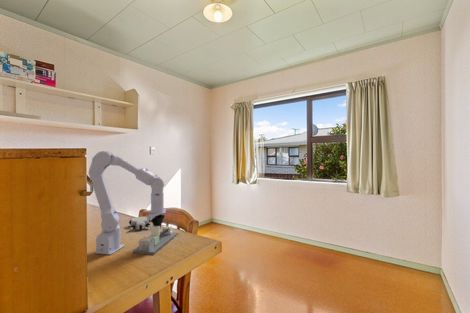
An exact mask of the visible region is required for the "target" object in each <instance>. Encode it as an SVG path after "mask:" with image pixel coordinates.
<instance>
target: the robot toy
mask: <svg viewBox="0 0 470 313" xmlns="http://www.w3.org/2000/svg"><path fill="white" fill-rule="evenodd" d="M151 222H152V221H151V220H147V216H137V217H133V218H131V219H129V220H128V224H129V225H130V227H129V230H134V229H135V230H137V231H139V230H145V228H146V227H147V228H151V226H152V224H150V223H151Z"/></svg>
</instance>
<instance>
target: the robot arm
mask: <svg viewBox="0 0 470 313" xmlns="http://www.w3.org/2000/svg"><path fill="white" fill-rule="evenodd" d="M110 166H118V167H120V168H122V169H124V170H125V171H128V172H130V173H132V174H133V175H135V178H136V179H137V180H138V181H139V182H141V183H143V184H145V185H146V186H150V188H151V193H150V212H149V214H148V215H146V217H147V220H151V221H150V222H152V226H160V229H161V227H162V224H163V221H164V218H165V217H166V216H165V214H166V213H167V208H166V207H164V205H165V204H164V202H165V201H164V199H165V198H164V193H165V192H164V186H165V184H164V181H163V178H161V177H160V176H158V174H154V173H153V172H151V171H149V169H148V168H144V167H141V168H138V167H137V166H136V165H134V164H132V163H131V162H129V161H128V160H126V159H125V158H123V157H122V156H119V155H117V154H114V153H113V152H111V151H104V150H102V151H98V152H97V153H96V154H95V155H94V156H93V157H92V159H91V164H90V167H89V170H88V176H89V179H90V181H91V180H92V182H93V185H92V188H93V190H94V194H95V197H96V200H97V203H98V205H99V208H100V218H101V232H100V233H99V234H98V235H97V236H96V240H95V243H96V244H95V247H96V248H95V251H94V254H99V255H112V254H115V252H117V251H119V250H120V249H122V248H124V247H125V244H121V226H120V225H119V223H120V221H121V216H120V215H121V214H119V213H118V212H117V210H116V208H115V207H114V205H113V201H112V199H111V196H110V192H109V190H108V186H107V182H106V181H105V177H104V172H105V171H106V169H107V168H108V167H110ZM92 182H91V183H92Z"/></svg>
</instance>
